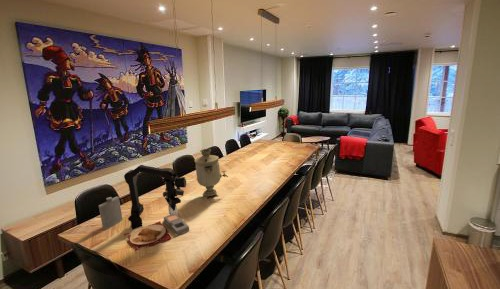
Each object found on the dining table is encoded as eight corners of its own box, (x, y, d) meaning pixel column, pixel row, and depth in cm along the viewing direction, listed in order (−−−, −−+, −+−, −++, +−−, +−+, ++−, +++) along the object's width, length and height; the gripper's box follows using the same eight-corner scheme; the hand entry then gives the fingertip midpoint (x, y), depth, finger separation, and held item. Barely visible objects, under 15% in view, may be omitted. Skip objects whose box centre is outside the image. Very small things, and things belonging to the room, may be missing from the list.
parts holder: (176, 235, 168) (176, 230, 167) (164, 220, 187) (163, 216, 186) (189, 230, 173) (188, 226, 172) (175, 216, 192) (175, 212, 191)
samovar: (227, 202, 211) (223, 154, 202) (194, 203, 212) (189, 155, 203) (230, 187, 240) (227, 145, 231) (201, 188, 241) (197, 146, 232)
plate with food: (160, 223, 185) (159, 219, 185) (172, 239, 164) (171, 234, 164) (124, 236, 173) (123, 231, 172) (131, 254, 152) (130, 249, 151)
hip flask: (120, 218, 194) (115, 192, 189) (124, 218, 193) (120, 193, 188) (102, 229, 179) (96, 202, 175) (106, 230, 178) (101, 203, 174)
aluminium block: (171, 216, 177) (170, 207, 175) (169, 213, 180) (168, 205, 179) (177, 214, 179) (176, 205, 178) (175, 211, 182) (174, 203, 181)
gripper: (187, 188, 172) (189, 210, 176) (177, 180, 187) (179, 201, 191) (170, 193, 166) (172, 215, 170) (161, 184, 181) (163, 205, 184)
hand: (172, 209), depth 179 cm, fingers closed on aluminium block, 4 cm apart
